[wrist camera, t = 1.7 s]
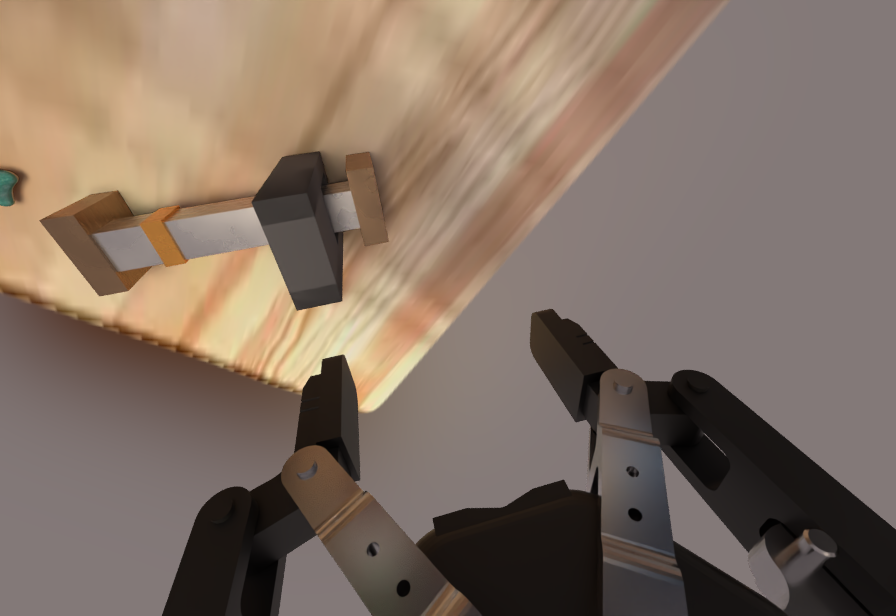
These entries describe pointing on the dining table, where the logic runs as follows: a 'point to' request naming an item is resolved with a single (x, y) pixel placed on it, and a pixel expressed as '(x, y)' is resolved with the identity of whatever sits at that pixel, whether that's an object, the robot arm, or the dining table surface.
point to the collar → (302, 230)
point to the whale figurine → (7, 187)
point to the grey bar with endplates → (193, 229)
